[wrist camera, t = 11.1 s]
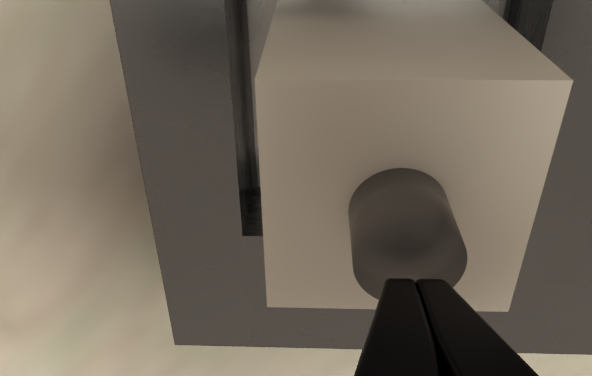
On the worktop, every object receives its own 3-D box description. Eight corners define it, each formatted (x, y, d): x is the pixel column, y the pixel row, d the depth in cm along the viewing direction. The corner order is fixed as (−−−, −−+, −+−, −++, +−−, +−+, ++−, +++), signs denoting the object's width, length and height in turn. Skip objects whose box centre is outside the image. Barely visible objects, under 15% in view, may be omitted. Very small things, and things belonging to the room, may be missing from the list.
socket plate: (886, -297, 11) (1112, -358, 8) (629, 290, 19) (687, 372, 16) (109, -280, 11) (32, -332, 8) (193, 282, 20) (170, 359, 17)
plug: (476, -5, 13) (620, 120, 7) (448, 167, 16) (533, 371, 10) (278, -4, 14) (242, 118, 7) (283, 165, 16) (260, 365, 10)
